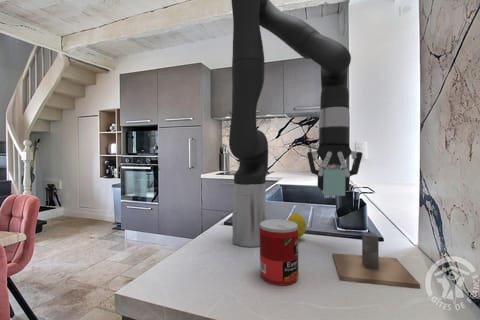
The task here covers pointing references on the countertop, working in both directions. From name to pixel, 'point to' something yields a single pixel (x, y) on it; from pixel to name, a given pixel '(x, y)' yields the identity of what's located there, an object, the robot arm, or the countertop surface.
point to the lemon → (298, 223)
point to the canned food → (279, 251)
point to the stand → (373, 266)
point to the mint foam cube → (334, 182)
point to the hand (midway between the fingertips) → (333, 190)
